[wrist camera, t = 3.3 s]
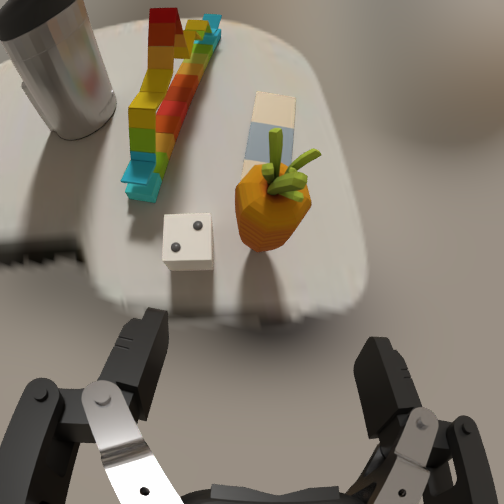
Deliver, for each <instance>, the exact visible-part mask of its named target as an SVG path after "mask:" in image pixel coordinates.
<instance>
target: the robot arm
mask: <svg viewBox="0 0 504 504" xmlns="http://www.w3.org/2000/svg"><path fill="white" fill-rule="evenodd" d="M0 40H1V43H2V45H3V47H4V48H5V50H6V52H7V54H8V56H9V58H10V59H11V61H12V63H13V64H14V66H15V68H16V70H17V71H18V73H19V75H20V76H21V78H22V80H23V82H22V89H23V90H24V92H25V94H26V95H27V97H28V98H29V100H30V101H31V103H32V104H33V106H34V107H35V109H36V110H37V112H38V113H39V115H40V116H41V118H42V119H43V121H44V122H45V124H46V125H47V127H48V128H49V129H50V131H56V132H57V134H58V135H59V136H60V137H61V138H63V139H67V140H75V139H80V138H83V137H85V136H88V135H90V134H91V133H93V132H95V131H96V130H98V129H99V128H100V127H102V126H103V125H104V124H105V123H106V122H107V121H108V119H109V118H110V117H111V115H112V114H113V112H114V110H115V107H116V102H117V101H116V96H115V93H114V91H113V88H112V85H111V83H110V80H109V77H108V74H107V71H106V68H105V65H104V63H103V60H102V57H101V54H100V51H99V48H98V45H97V42H96V39H95V36H94V33H93V30H92V27H91V23H90V20H89V17H88V13H87V10H86V7H85V3H84V0H8V1H7V3H6V4H5V5H4V6H3V7H2V8H1V9H0ZM168 343H169V332H168V312H167V311H165V310H160V309H155V308H150V307H148V308H147V310H146V312H145V314H144V316H143V318H142V320H141V319H136V318H133V319H131V320H130V321H129V322H128V323H127V324H125V325H124V326H123V328H122V330H121V332H120V335H119V338H118V339H117V341H116V343H115V346H114V347H113V349H112V351H111V353H110V356H109V357H108V359H107V362H106V364H105V366H104V368H103V370H102V372H101V375H100V377H99V378H98V380H97V381H95V382H92V383H90V384H89V385H87V386H86V388H83V389H60V388H58V387H57V385H56V384H55V383H54V382H53V381H51V380H50V379H47V378H37V379H34V380H33V381H31V382H30V383H29V384H28V385H27V386H26V388H25V390H24V392H23V394H22V396H21V398H20V400H19V403H18V405H17V407H16V409H15V412H14V414H13V416H12V419H11V421H10V423H9V426H8V428H7V431H6V433H5V436H4V438H3V441H2V444H1V446H0V504H65V501H66V497H67V492H68V488H69V484H70V479H71V475H72V471H73V467H74V464H75V460H76V456H77V453H78V449H79V446H80V443H97V446H98V448H99V451H100V453H101V460H102V463H103V465H104V468H105V470H106V472H107V475H108V477H109V479H110V481H111V483H112V485H113V487H114V489H115V491H116V493H117V495H118V497H119V499H120V501H121V503H122V504H418V503H419V501H420V499H421V496H422V495H423V502H424V504H498V500H497V495H496V491H495V486H494V482H493V478H492V474H491V471H490V467H489V463H488V460H487V456H486V453H485V449H484V446H483V443H482V440H481V437H480V434H479V431H478V428H477V425H476V423H475V422H474V421H473V419H471V418H470V417H468V416H459V417H458V418H457V419H456V420H455V421H453V422H447V421H441V420H438V419H437V417H436V415H435V414H434V413H433V412H432V411H431V410H429V409H427V408H424V407H422V405H421V402H420V399H419V396H418V394H417V391H416V389H415V386H414V383H413V381H412V379H411V376H410V373H409V371H408V370H407V369H408V368H407V365H406V363H405V361H404V359H403V357H402V356H401V355H400V354H399V353H398V351H396V350H393V348H392V345H391V343H390V341H389V339H388V338H386V337H369V338H368V340H367V341H366V343H365V345H364V347H363V349H362V350H361V352H360V354H359V356H358V357H357V359H356V361H355V364H354V377H355V381H356V384H357V388H358V393H359V397H360V401H361V405H362V409H363V414H364V419H365V423H366V428H367V432H368V437H369V439H374V438H379V441H380V443H379V444H378V445H377V446H376V448H375V450H374V452H373V454H372V456H371V457H370V459H369V461H368V463H367V465H366V466H365V468H364V470H363V472H362V473H361V475H360V476H359V478H358V479H357V481H356V482H355V483H354V484H353V485H352V486H351V487H350V488H349V489H348V491H347V492H346V493H345V494H344V493H340V492H339V487H338V486H333V487H319V488H308V489H304V490H300V491H297V492H293V493H289V494H284V495H272V494H268V493H264V492H260V491H257V490H253V489H249V488H246V487H237V486H225V485H217V484H212V486H211V489H206V490H200V491H195V492H192V493H188V494H186V495H184V496H181V497H180V498H179V496H178V495H177V493H176V492H175V490H174V489H173V487H172V485H171V484H170V482H169V481H168V479H167V477H166V476H165V474H164V472H163V471H162V469H161V467H160V466H159V464H158V462H157V461H156V459H155V457H154V455H153V453H152V451H151V450H150V448H149V446H148V445H147V443H146V442H145V441H144V439H143V437H142V435H141V433H140V431H139V429H138V427H137V422H138V419H140V420H143V421H147V418H148V414H149V411H150V407H151V403H152V400H153V397H154V393H155V390H156V386H157V383H158V380H159V376H160V373H161V370H162V367H163V363H164V360H165V356H166V354H167V349H168ZM452 458H453V462H454V466H455V470H456V475H457V481H456V484H455V485H454V486H453V481H452V476H451V472H450V468H449V464H448V461H449V460H450V459H452Z"/></svg>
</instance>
